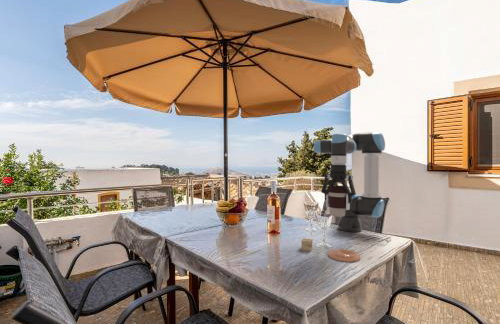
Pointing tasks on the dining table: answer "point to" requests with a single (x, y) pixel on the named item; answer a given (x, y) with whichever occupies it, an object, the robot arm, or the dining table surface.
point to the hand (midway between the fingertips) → (337, 208)
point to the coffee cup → (337, 201)
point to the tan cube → (306, 244)
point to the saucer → (344, 255)
